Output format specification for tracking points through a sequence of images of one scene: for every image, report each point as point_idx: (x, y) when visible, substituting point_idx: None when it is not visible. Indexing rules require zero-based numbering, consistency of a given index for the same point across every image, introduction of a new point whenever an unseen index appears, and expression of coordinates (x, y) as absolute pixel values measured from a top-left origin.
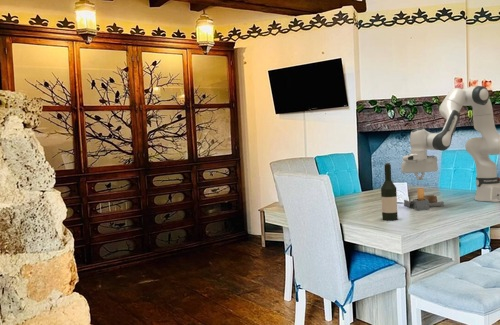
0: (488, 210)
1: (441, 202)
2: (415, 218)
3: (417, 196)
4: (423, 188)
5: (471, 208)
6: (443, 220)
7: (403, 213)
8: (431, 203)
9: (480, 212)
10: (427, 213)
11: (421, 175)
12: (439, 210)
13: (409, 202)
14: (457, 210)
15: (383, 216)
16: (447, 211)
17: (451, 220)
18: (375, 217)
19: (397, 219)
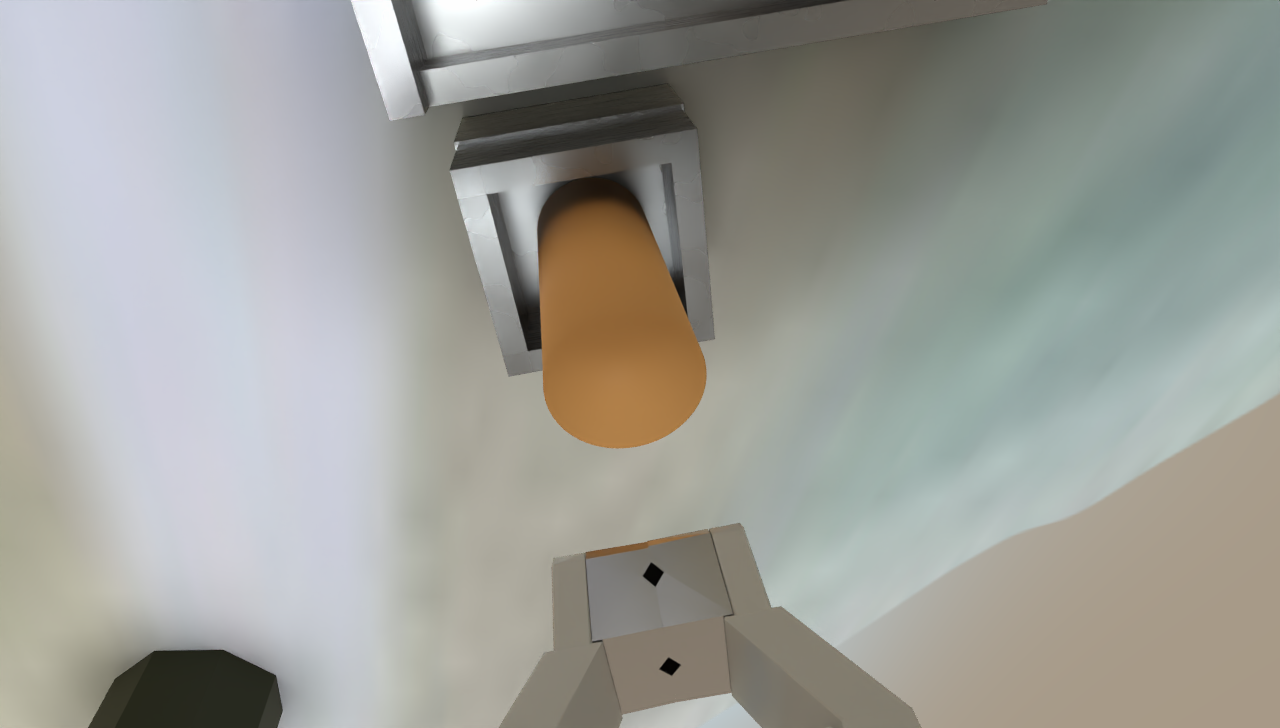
0: (1241, 393)
1: (1006, 8)
2: (448, 667)
3: (539, 288)
4: (699, 378)
5: (1195, 260)
6: (660, 714)
7: (319, 470)
8: (815, 40)
9: (1101, 475)
10: (602, 486)
11: (769, 682)
12: (790, 338)
13: (388, 115)
14: (977, 361)
15: None
16: (848, 404)
17: (716, 712)
18: (8, 636)
19: (279, 714)
